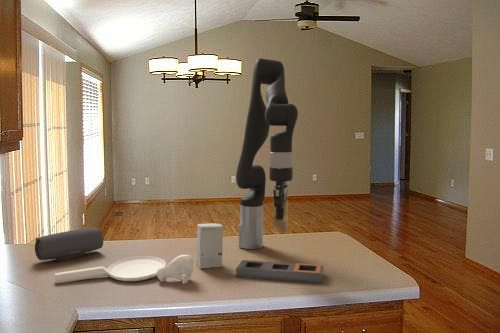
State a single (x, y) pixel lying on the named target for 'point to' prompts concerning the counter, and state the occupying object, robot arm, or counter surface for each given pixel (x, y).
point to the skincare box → (209, 245)
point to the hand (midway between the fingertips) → (280, 217)
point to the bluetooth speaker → (68, 244)
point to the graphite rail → (281, 271)
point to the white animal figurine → (177, 269)
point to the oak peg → (282, 224)
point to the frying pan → (117, 270)
